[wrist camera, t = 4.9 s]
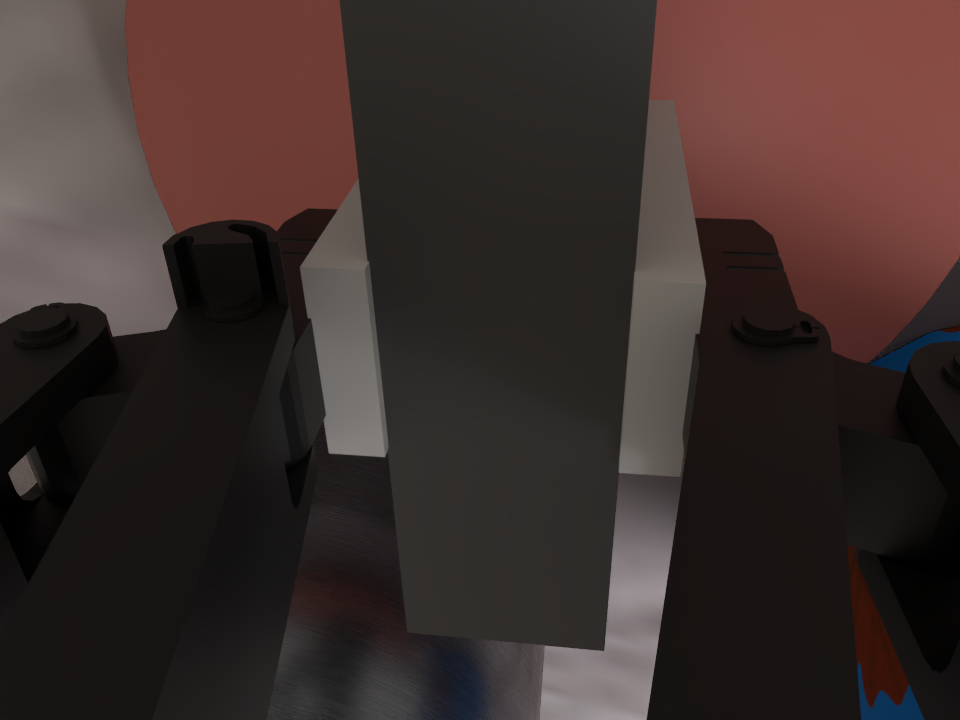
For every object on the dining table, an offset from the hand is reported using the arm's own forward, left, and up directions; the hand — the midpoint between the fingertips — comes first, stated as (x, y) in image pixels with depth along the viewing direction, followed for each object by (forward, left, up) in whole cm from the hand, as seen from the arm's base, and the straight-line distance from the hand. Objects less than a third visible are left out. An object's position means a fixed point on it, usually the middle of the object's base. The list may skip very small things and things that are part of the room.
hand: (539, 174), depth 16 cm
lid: (0, 0, -3) cm, 3 cm away
